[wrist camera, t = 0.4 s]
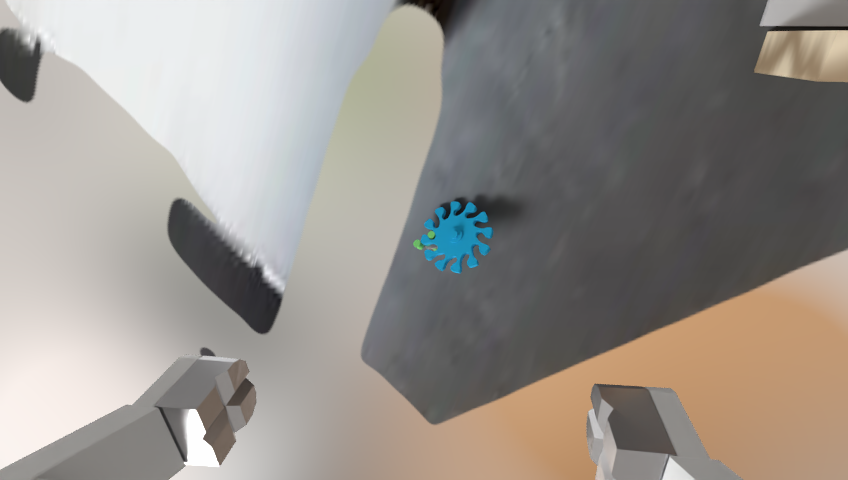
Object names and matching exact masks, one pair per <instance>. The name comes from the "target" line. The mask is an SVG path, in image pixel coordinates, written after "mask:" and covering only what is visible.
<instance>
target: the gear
mask: <svg viewBox="0 0 848 480" xmlns="http://www.w3.org/2000/svg"><path fill="white" fill-rule="evenodd" d="M460 209H461V204H460V203H459V202H451V213H450V215H449V217H448V218H447V219H445V220H444V216H445V214H446V210H445V209H444V208H443V207H440V208H438V209H436V210H435V213H436V214H437V215H438V217H439V220H440V225H439V227H438V228H435V223H434V222H433V221H432V220H431V219H428V220H427V221H426V222H425V224H424V226H425V227H426V228H427V229H430V230H432V231H430V232H429V233H428V236H427V235H423V236H422V238H421V241H419V240H415V241H414V243H413V244H414V246H415V247H416V248H418V249H423V247H426V248H427V249H433V250H436V251H431V250H426V251H425V257H426V259H427V260H432V259H433V258H435V257H436V256H438V255H442V254H445V259H444V260H439V261H437V262H436V263H435V266H436V267H437V268H438V269H439V270H441V271H444V270H445V268H446V265H447V263H448V262H449V261H450V260H451V259H453V258H455V257H456V258H457V261H456V263H454V264H453V265H452V266H451V270H452V271H453V272H455V273H461V272H462V267H461V263H462V260H463V258H464V256H465V255H466V254H469V259H468V261H467V265H468V266H469V267H470V268H473V267H476V266H478V264H479V263H478V261H477V260H476V259H475V257H474V254H473V248H474V246H475V245H479V251H480V253H481V254H482V255H486V254H487V253H488V252H489V251H490V250H491V249H490V247H489V246H488V245H486V244H483V243H481V242H479V240H478V239H477V235H478V234H479V233H483V234H484V235H485V237H486V238H488V239H491V238H492V236H493V229H492V228H490V227H487V228H477V227H475V223H476V222H478V221H479V222H482V223H487V222H488V216H487V214H486V213H485V212H481V213H480V214H479V215H478V216H476V217H474V218H467V215H468V214H470V213H475V212H476V211H477V208H476V207H475V205H474V204H472V203H471V202H469V203H468V204H467V206H466V208H465V210H464V211H463V212H462V213H461V214H460V215H458V216H455V213H456V212H457V211H459V210H460ZM433 231H434V232H433Z"/></svg>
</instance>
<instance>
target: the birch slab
mask: <svg viewBox="0 0 848 480" xmlns="http://www.w3.org/2000/svg"><path fill="white" fill-rule="evenodd" d="M754 72H756V73H763V74H770V75H777V76H784V77H791V78H798V79H805V80H812V81H828V82H848V30H826V31H768V32H767V35H766V38H765V41H764V44H763V47H762V50H761V53H760V56H759V59H758V61H757V64H756V67H755V70H754Z"/></svg>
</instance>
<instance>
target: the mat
mask: <svg viewBox="0 0 848 480" xmlns="http://www.w3.org/2000/svg"><path fill="white" fill-rule="evenodd" d="M760 26H848V0H768V2H767V5H766V8H765V11H764V14H763V17H762V20H761V23H760Z"/></svg>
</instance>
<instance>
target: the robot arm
mask: <svg viewBox="0 0 848 480" xmlns="http://www.w3.org/2000/svg"><path fill="white" fill-rule="evenodd" d="M248 373H249V369H248V367H247V364H246V361H243V360H240V359H232V358H221V357H211V356H197V355H184V356H182V357H180V358H178V359H177V360H176V361H175V362H174V364H172V366H171V367H169V368H168V369H167V370H166V371H165V372H164V374H163V375H162V376H161V377H160V378H159V379H158V380H157V381H156V382H155V383H154V384H153V385H152V386H151V387H150V388H149V389H148V390H147V391H146V392H145V393H144V394H143V395H142V396H141V397H140V398H139V399H138V400H137V401H136V402H135V403H134V404H133V405H125V406H123V407H121V408H119V409H117V410H115V411H113V412H111V413H109V414H107V415H105V416H104V417H102V418H100V419H98V420H96V421H94V422H92V423H90V424H88V425H86V426H84V427H82V428H80V429H78V430H76V431H74V432H73V433H71V434H69V435H67V436H65V437H63V438H61V439H59V440H57V441H55V442H53V443H51V444H49V445H47V446H45V447H43V448H41V449H40V450H38V451H36V452H34V453H32V454H30V455H28V456H26V457H24V458H22V459H20V460H18V461H16V462H14V463H12V464H11V465H9V466H7V467H5V468H3V469H1V470H0V480H169V479H170V478H171V477H172V476H174V475H175V474H176V473H177V472H179V471H180V470H181V469H183V468H184V467H185V466H186V465H185V464H192V465H204V466H217V467H219V466H220V465H221V464H222V462H223V461H224V459H225V457H226V456H227V454H228V453H229V451H230V450H231V448H232V446H233V445H234V443H235V442H236V435H235V432H236V431H238V430H239V429H241V428H242V427H244V426H245V425H247V423H248V421H249V420H250V418H251V416H252V415H253V411H254V407H255V405H256V391H255V388H254V385H253V384H252V383H251V382H250V381H249V380H248V379H247V378H246V377H247V375H248ZM591 400H592V404H593V409H591V410H590V411H589V412H588V416H587V442H588V448H589V453H590V457H591V459H592V460H593V461H594V463H595V464H596V465H597V466H598V467H597V473H596V478H595V479H596V480H743V479H742V478H741V477H739V476H738V475H736V473H734V472H733V471H732V470H731V469H729V468H728V467H727V466H726V465H724V464H723V463H722V462H721V461H719V460H711V459H710V457H709V456H708V454H707V452H706V450H705V448H704V446H703V444H702V443H701V440H700V439H699V436H698V434H697V433H696V431H695V429H694V427H693V425H692V423H691V421H690V419H689V417H688V415H687V413H686V412H685V410H684V408H683V406H682V404H681V402H680V400H679V398H678V396H677V394H676V393H675V392H674V391H673V390H672V389H671V388H656V387H639V386H622V385H606V384H605V385H604V384H594V386H593V388H592V392H591Z"/></svg>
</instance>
